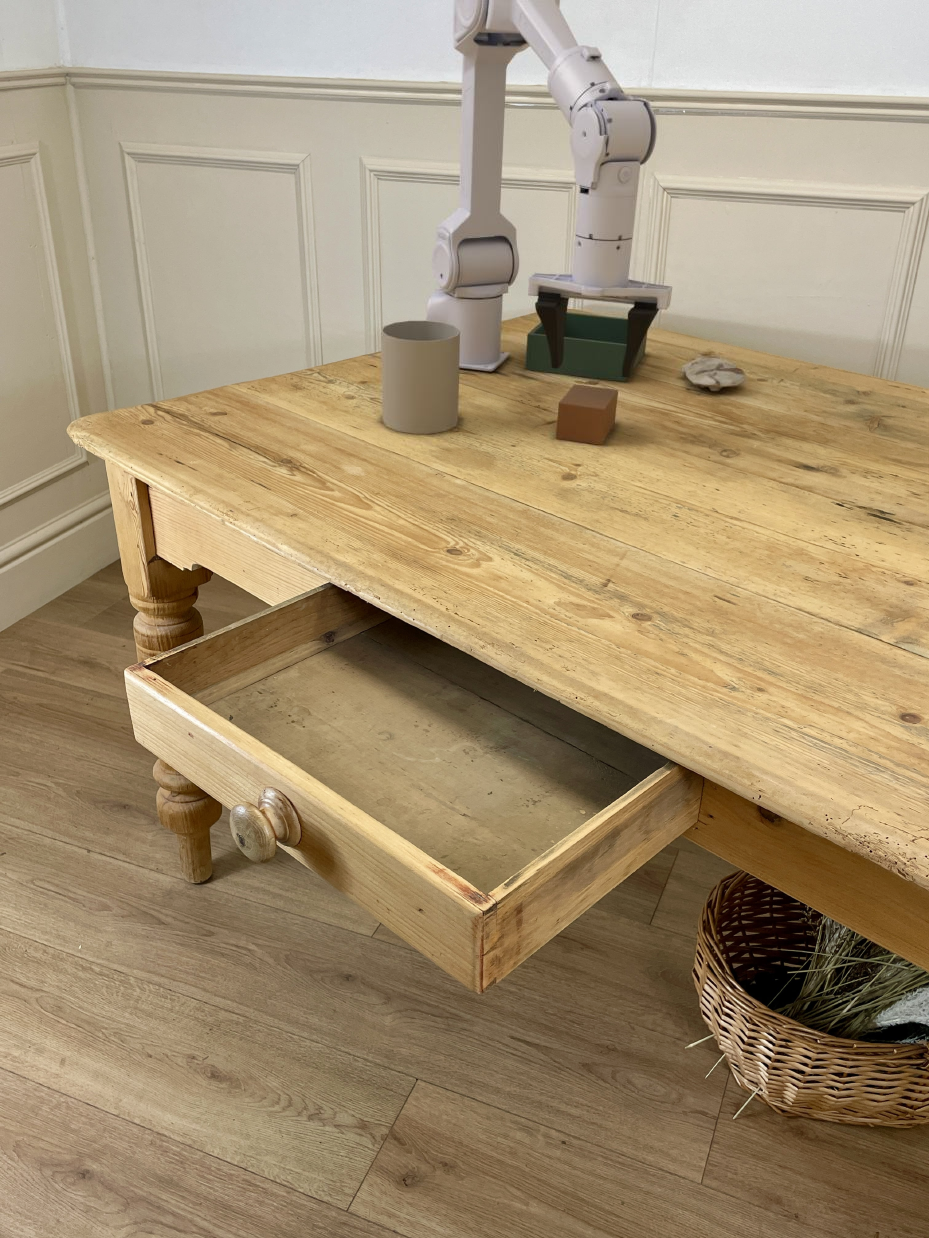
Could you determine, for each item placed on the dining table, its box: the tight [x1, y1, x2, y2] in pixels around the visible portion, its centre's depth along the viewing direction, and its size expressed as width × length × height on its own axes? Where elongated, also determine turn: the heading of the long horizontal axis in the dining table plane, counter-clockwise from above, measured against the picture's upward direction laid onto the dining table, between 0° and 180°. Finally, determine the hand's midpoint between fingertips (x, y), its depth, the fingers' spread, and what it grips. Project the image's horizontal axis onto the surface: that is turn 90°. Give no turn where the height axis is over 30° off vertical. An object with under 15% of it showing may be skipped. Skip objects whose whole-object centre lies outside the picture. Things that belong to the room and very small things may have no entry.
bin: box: [524, 311, 649, 383], centre depth 131 cm, size 13×13×5 cm
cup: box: [380, 320, 460, 435], centre depth 108 cm, size 8×8×10 cm
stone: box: [681, 354, 747, 392], centre depth 125 cm, size 10×7×3 cm
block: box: [555, 384, 619, 446], centre depth 108 cm, size 5×7×4 cm
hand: (591, 370), depth 106 cm, fingers open, 7 cm apart
